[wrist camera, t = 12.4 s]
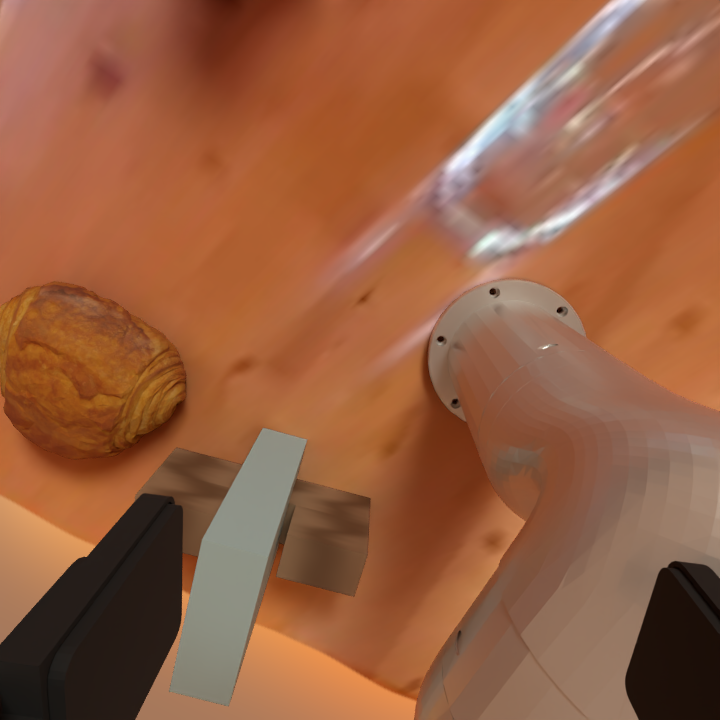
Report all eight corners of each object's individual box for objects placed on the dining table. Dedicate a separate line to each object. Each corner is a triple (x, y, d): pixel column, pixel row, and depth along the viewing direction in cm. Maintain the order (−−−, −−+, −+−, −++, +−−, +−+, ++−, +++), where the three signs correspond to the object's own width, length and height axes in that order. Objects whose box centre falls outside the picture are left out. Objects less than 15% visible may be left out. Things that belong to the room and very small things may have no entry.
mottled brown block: (370, 498, 48) (367, 554, 40) (359, 534, 49) (354, 596, 41) (176, 447, 47) (135, 494, 39) (169, 485, 48) (128, 539, 40)
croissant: (72, 247, 45) (-5, 244, 37) (220, 354, 44) (174, 374, 37) (3, 380, 48) (-82, 403, 40) (140, 480, 48) (82, 523, 40)
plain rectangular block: (263, 427, 46) (202, 539, 31) (307, 439, 46) (268, 556, 31) (236, 540, 49) (169, 691, 34) (277, 551, 50) (228, 706, 34)
